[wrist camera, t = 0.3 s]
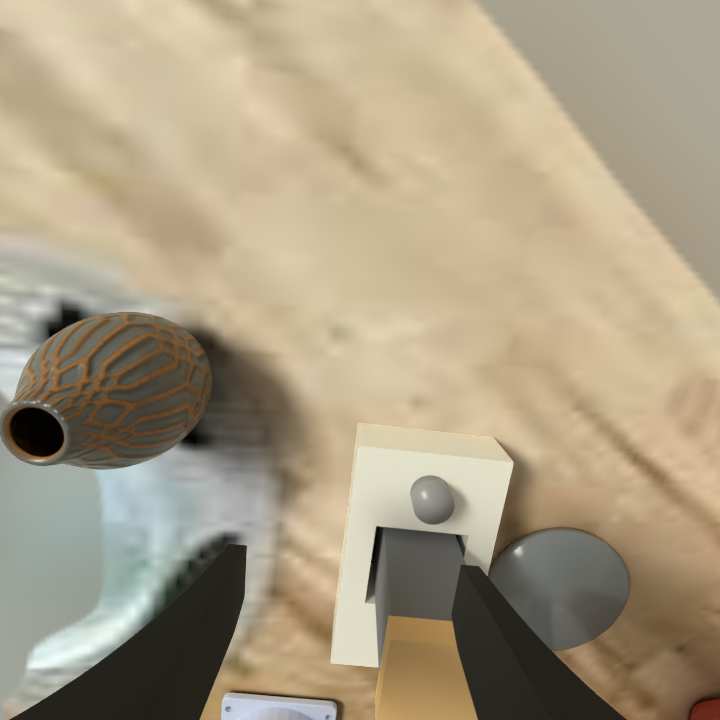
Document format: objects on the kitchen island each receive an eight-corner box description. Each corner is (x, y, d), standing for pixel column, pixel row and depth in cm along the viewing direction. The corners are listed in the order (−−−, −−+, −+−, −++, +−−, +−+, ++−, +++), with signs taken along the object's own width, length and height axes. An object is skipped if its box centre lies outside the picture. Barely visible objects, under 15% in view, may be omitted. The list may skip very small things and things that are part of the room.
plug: (437, 565, 24) (482, 735, 15) (369, 558, 24) (375, 726, 15) (448, 505, 23) (505, 649, 14) (377, 497, 23) (390, 639, 14)
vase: (242, 329, 20) (157, 370, 12) (213, 439, 22) (119, 547, 13) (116, 288, 20) (-68, 300, 11) (95, 404, 21) (-81, 493, 13)
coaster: (601, 647, 25) (607, 656, 25) (472, 635, 25) (475, 644, 24) (639, 535, 23) (646, 541, 23) (499, 520, 23) (502, 527, 22)
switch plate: (451, 627, 25) (470, 697, 21) (333, 616, 25) (328, 685, 21) (493, 436, 22) (524, 474, 18) (357, 422, 21) (357, 457, 17)
